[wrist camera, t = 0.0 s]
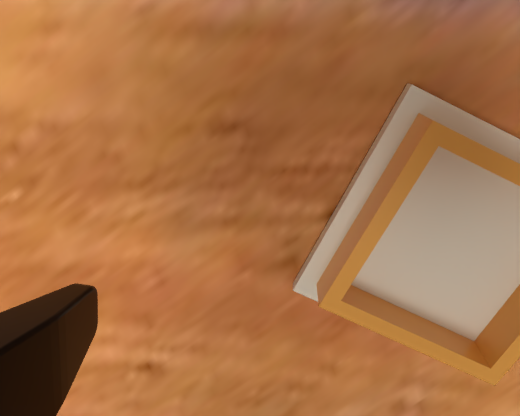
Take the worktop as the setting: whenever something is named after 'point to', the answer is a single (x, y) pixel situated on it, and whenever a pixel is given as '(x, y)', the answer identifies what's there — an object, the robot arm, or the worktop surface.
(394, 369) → the worktop surface
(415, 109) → the collar socket
